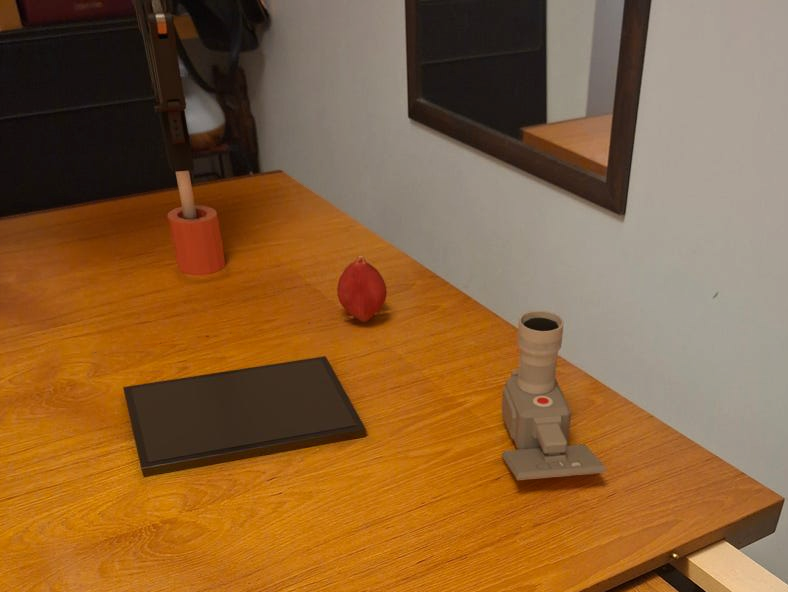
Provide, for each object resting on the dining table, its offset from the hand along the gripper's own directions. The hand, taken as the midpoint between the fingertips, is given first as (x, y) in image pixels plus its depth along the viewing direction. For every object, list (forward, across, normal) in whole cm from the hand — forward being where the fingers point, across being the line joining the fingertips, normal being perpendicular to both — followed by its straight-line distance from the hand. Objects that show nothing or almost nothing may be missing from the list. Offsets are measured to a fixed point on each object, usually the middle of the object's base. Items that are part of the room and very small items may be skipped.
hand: (181, 166), depth 110 cm
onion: (+13, -21, -16) cm, 29 cm away
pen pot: (+13, 0, 0) cm, 13 cm away
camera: (+12, -54, -25) cm, 61 cm away
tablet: (+12, -38, +2) cm, 40 cm away
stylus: (+8, 0, 0) cm, 8 cm away
